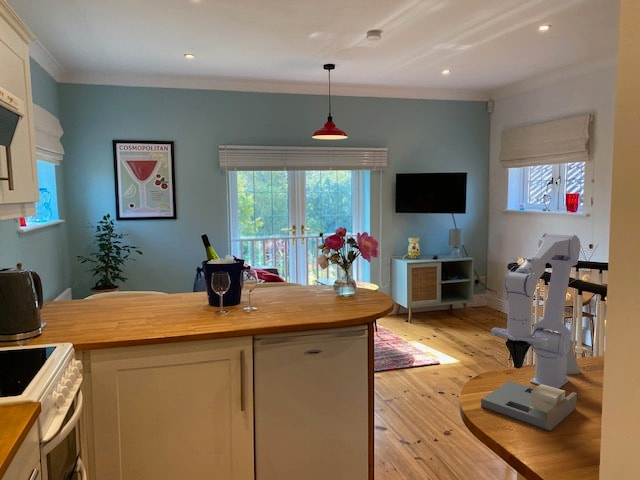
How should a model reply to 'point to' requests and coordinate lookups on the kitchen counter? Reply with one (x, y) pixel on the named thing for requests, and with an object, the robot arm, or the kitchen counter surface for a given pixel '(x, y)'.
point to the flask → (572, 361)
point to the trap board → (527, 406)
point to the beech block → (546, 397)
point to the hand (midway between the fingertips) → (518, 367)
